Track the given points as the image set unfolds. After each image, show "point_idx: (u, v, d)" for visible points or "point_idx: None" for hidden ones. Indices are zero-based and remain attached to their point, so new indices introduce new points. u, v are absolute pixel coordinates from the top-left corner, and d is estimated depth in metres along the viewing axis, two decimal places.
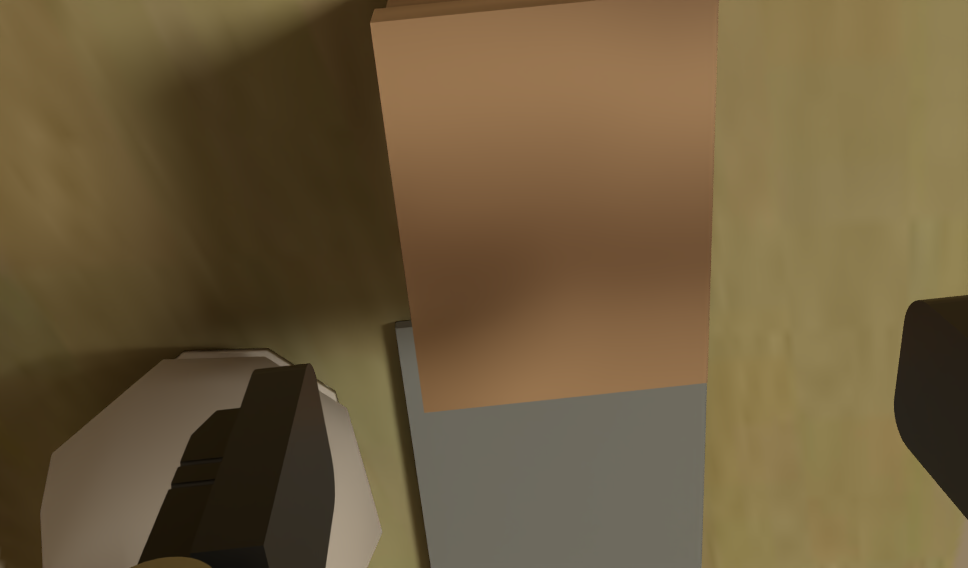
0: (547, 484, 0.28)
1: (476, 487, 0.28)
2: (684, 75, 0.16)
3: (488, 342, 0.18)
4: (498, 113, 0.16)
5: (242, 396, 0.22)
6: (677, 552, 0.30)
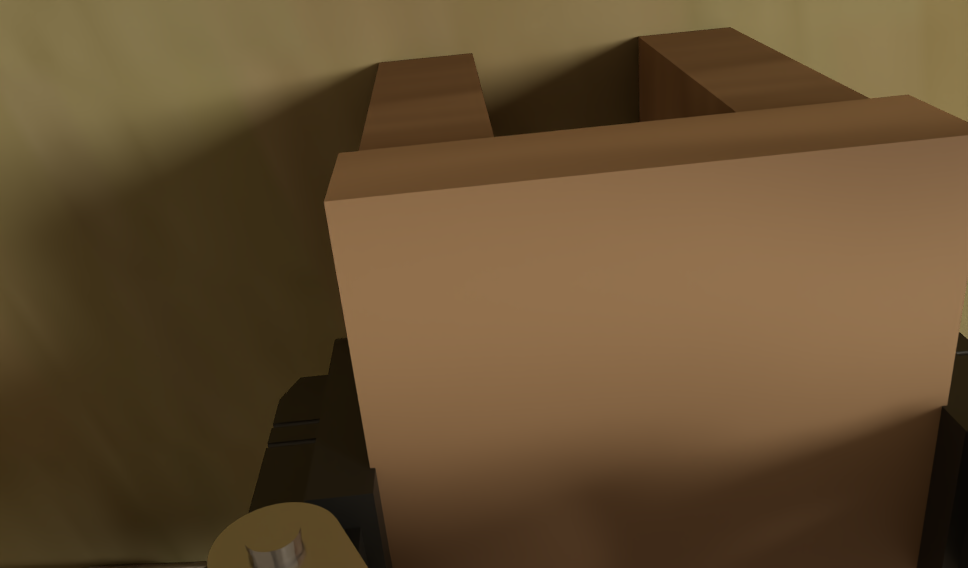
0: None
1: None
2: (908, 285, 0.09)
3: None
4: (564, 352, 0.09)
5: None
6: None
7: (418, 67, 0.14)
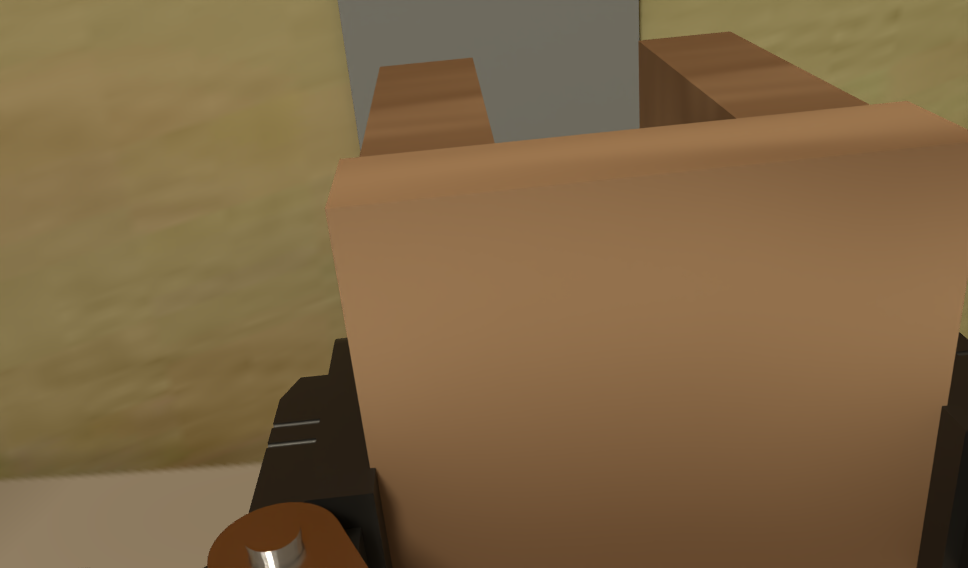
0: (511, 69, 0.34)
1: (511, 127, 0.35)
2: (907, 291, 0.09)
3: None
4: (565, 358, 0.09)
5: None
6: None
7: (418, 71, 0.14)
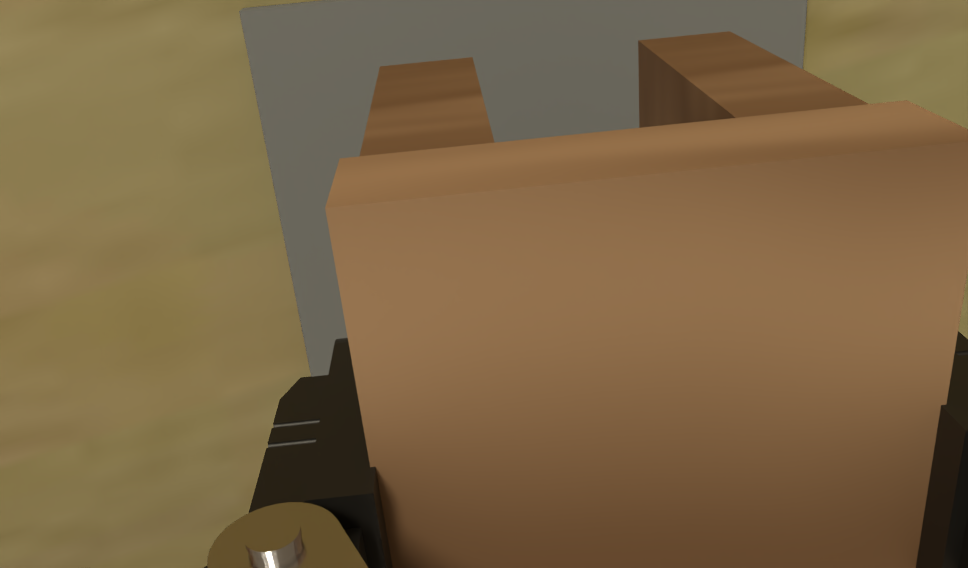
0: None
1: None
2: (907, 290, 0.09)
3: None
4: (564, 357, 0.09)
5: None
6: (733, 6, 0.17)
7: (418, 71, 0.14)
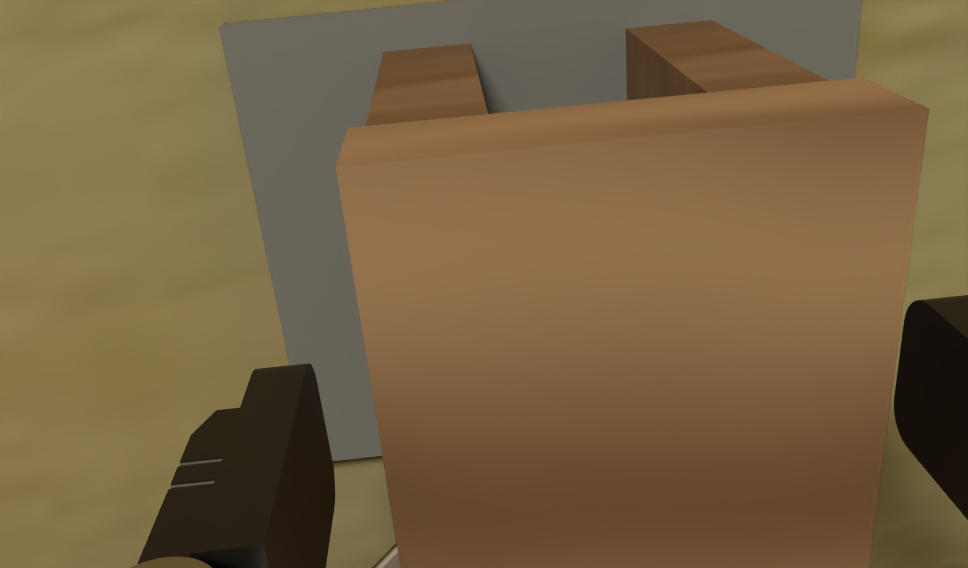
0: None
1: None
2: (859, 245, 0.10)
3: None
4: (550, 305, 0.10)
5: None
6: (776, 21, 0.15)
7: (419, 55, 0.15)
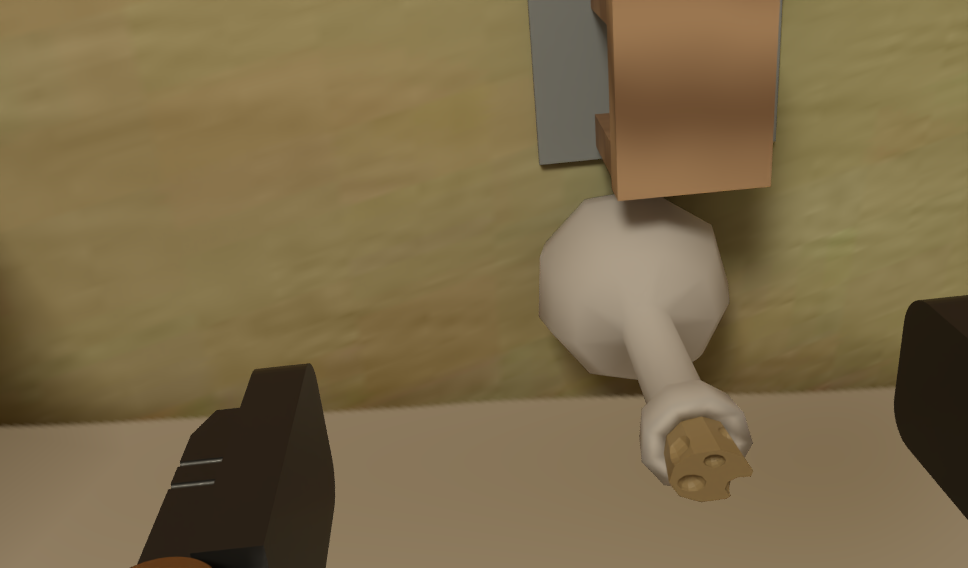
0: None
1: None
2: (763, 15, 0.32)
3: (655, 160, 0.34)
4: (670, 34, 0.32)
5: (543, 266, 0.40)
6: None
7: None
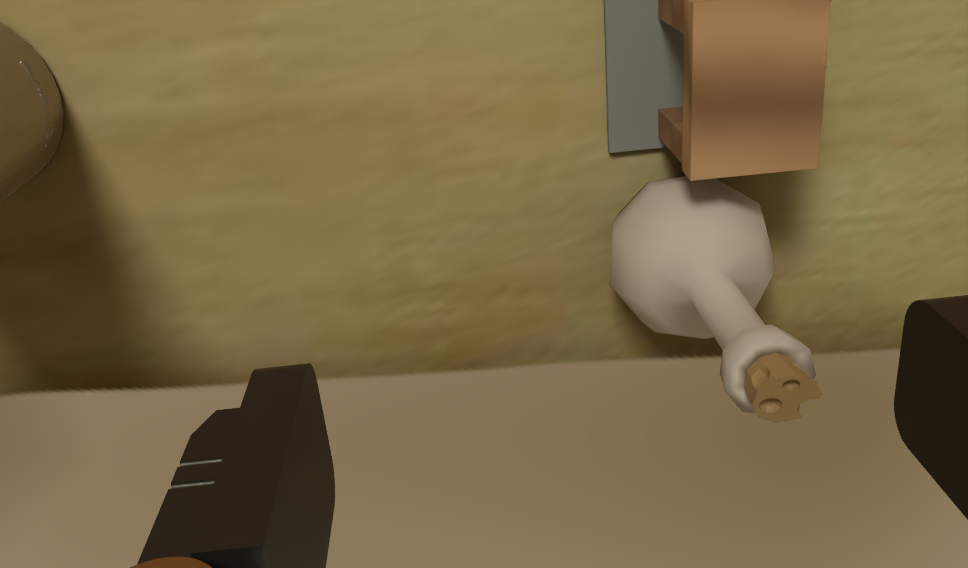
0: None
1: None
2: (816, 25, 0.39)
3: (723, 145, 0.41)
4: (739, 40, 0.39)
5: (616, 239, 0.46)
6: None
7: None
